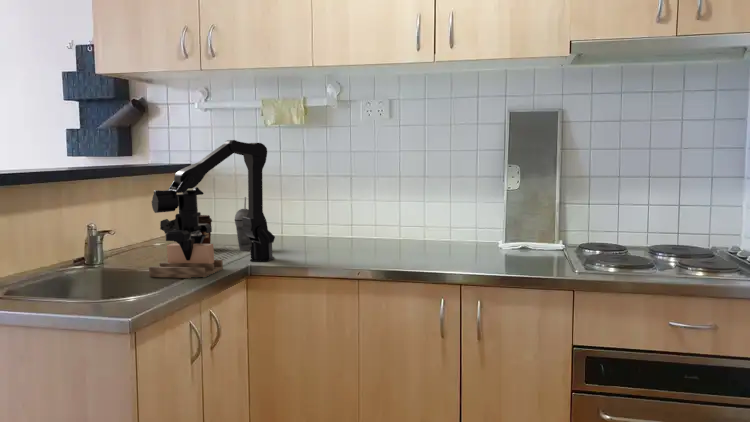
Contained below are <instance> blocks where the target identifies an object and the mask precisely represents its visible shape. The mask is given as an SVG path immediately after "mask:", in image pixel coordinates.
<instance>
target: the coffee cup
mask: <svg viewBox="0 0 750 422" xmlns="http://www.w3.org/2000/svg"><path fill="white" fill-rule="evenodd" d="M212 222H213V219H212V218H211V215H208V214H201V215H200V216H198V224H210V225H211V226H212ZM201 233H202V235H206V237H205V238H204V240H203V242H202V244H212V243H211V241H212V240H211V239H212V238H211V237H212V236H211V235H212V232H210V233H206V232H201Z"/></svg>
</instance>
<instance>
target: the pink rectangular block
mask: <svg viewBox="0 0 750 422" xmlns="http://www.w3.org/2000/svg"><path fill="white" fill-rule="evenodd" d="M166 252H167V263H202V264H212V263H214V260H215V250H214V243H211V244H194V245H193V250H192V254H191V258H190V260H186V258H185V256H184V253H183V251H182V248H181V246H180V245H179V244H178V243H177V242H173V243H170V244H167V245H166Z"/></svg>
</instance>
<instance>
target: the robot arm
mask: <svg viewBox="0 0 750 422" xmlns="http://www.w3.org/2000/svg"><path fill="white" fill-rule="evenodd" d="M234 154H236V155H239V156H240V155H241V156H243V160H244V163H245V166H246V168H247V176H248V177H247V185H248V187H247V190H248V192H247V193H248V196H247V197H248V199H247V200H248V201H247V202H248V203H247V204H248V208H247V209H248V214H247V216H246V217H242V221H243V227H242V229H244V233H245V234H246V235H247V236H248V238H249V240H250V241H252V243H251V245H252V246H251V247H250V251H249V252H250V260H249V262H270V261H272V260H274V259H275V256H274V255H273V243H274V241H275V239H276V236H275V235H274V234H272V232H271V231H270V230H269V228H268V224H267V223H268V222H267V219H266V217H265V214H264V211H263V210H264V209H263V208H264V206H263V205H264V204H263V201H264V200H263V197H264V196H263V195H264V194H263V193H264V192H263V169H264V167H265V164H266V162H267V156H268V148H267V146H266V145H265V144H264V143H262V142H245V141H244V142H243V141H238V140H236V139H228V140H225V141H224V142H223V144H222V145H220V146H218V147H217V148H215V150H213V151H212V152H210V153H209V154H207V155H206V156H204V157H203V158H202V159H200V160H199V161H198V162H196V163H193V164H190V165H188V166H186V167H183V168H181V169H180V170H178V171H177V172H175V174H174V180H173V182H172V183H171V185H169V188H168V189H166V190H159V189H156V190H153V195H152V200H151V208H152V210H153V213H155V214H160V213H169V212H175V211H176V209H177V210H178V213H176V214H175V216H174V217H175V218H174V219H172V220H171V219H170V220H169V219H167V218H164V219H162V220H160V221H159V222H160V223H159V225H160V228H159V229H160V231H162V232H164V234H165V241H166V242H173V243H176V244H179V245H180V246H181V248H182V251H183V253H184V256H185V258H186V260H190V258H191V254H192V250H193V245H194V244H202V242H203V240H204V238H205V237H206V235H202V233H201V232H206V233H210V232H211V233H212V232H213V229H212V224H211V225H210V224H198V216H200V215H202V213H201V212H200V211H198V196H199V195H201V196H202V195H204V191H202V190H201V189H200V188H199V187H198V185H199V183H200V182H202V181H203V179H204V177H205V176H206V175H207V174H208V173H209V172H210V171H211V170H213V169H214V168H215V167H217V166H218V165H220V164H221V163H222V162H223V161H225V160H226V159H228V158H229V157H230V156H232V155H234Z"/></svg>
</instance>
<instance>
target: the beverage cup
mask: <svg viewBox="0 0 750 422" xmlns="http://www.w3.org/2000/svg"><path fill="white" fill-rule="evenodd" d="M246 206H247V197H246V196H245V197H244V207H243V208H240V209H239V210H237V212H236V213H235V216H234V224H235V228H236V234H237V243H238V247H239V251H240V252H247V251H249V252H250V247H251V246H252V245H251V243H252V241H250V240H249V238H248V236H247V235H246V234H245V233H244V229H242V227H243V221H242V217H246V216H247V214H248V208H247V207H246Z"/></svg>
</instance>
